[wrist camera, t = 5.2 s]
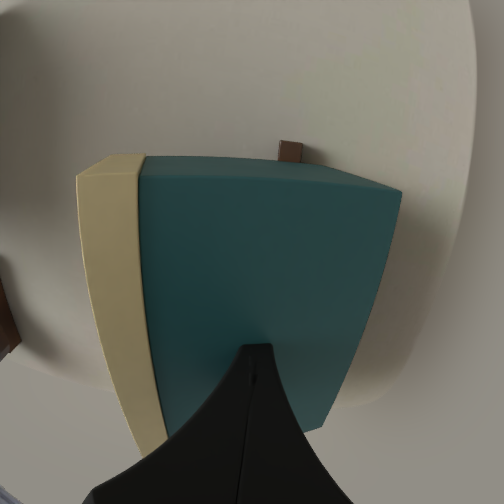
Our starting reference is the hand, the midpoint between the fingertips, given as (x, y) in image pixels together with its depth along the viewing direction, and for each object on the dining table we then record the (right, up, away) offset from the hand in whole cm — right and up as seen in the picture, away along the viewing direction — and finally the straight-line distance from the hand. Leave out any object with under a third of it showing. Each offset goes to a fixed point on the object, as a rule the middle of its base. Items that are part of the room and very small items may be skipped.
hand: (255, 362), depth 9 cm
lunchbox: (+3, +1, +3) cm, 5 cm away
